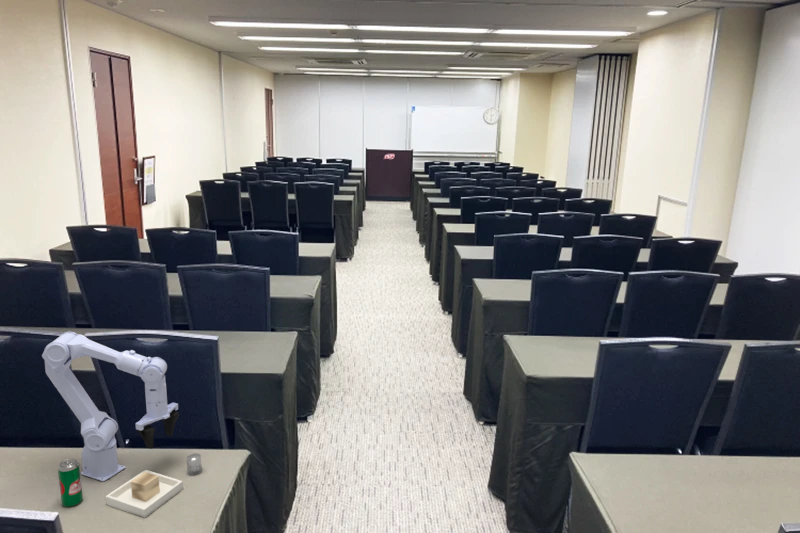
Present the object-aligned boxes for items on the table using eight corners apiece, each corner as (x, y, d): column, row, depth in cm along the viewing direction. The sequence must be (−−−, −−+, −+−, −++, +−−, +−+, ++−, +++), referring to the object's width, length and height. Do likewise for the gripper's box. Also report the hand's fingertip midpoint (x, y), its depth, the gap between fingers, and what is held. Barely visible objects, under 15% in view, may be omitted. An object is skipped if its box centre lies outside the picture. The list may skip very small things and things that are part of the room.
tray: (106, 504, 153) (105, 496, 153) (146, 477, 166) (145, 469, 165) (145, 518, 148) (144, 509, 148) (183, 488, 161) (182, 481, 160)
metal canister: (184, 473, 168) (183, 458, 167) (194, 467, 172) (193, 452, 171) (195, 477, 167) (194, 462, 166) (204, 470, 170) (203, 455, 169)
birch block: (132, 497, 155) (130, 481, 154) (146, 487, 160) (145, 471, 159) (145, 502, 154) (144, 485, 153) (159, 491, 158) (158, 476, 157)
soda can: (73, 509, 151) (69, 469, 148) (57, 506, 152) (52, 467, 149) (87, 498, 156) (83, 459, 153) (71, 495, 156) (67, 456, 154)
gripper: (147, 412, 157) (150, 456, 160) (184, 392, 170) (187, 432, 173) (128, 407, 159) (132, 450, 162) (166, 387, 173) (169, 428, 176)
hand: (159, 441), depth 168 cm, fingers open, 7 cm apart
